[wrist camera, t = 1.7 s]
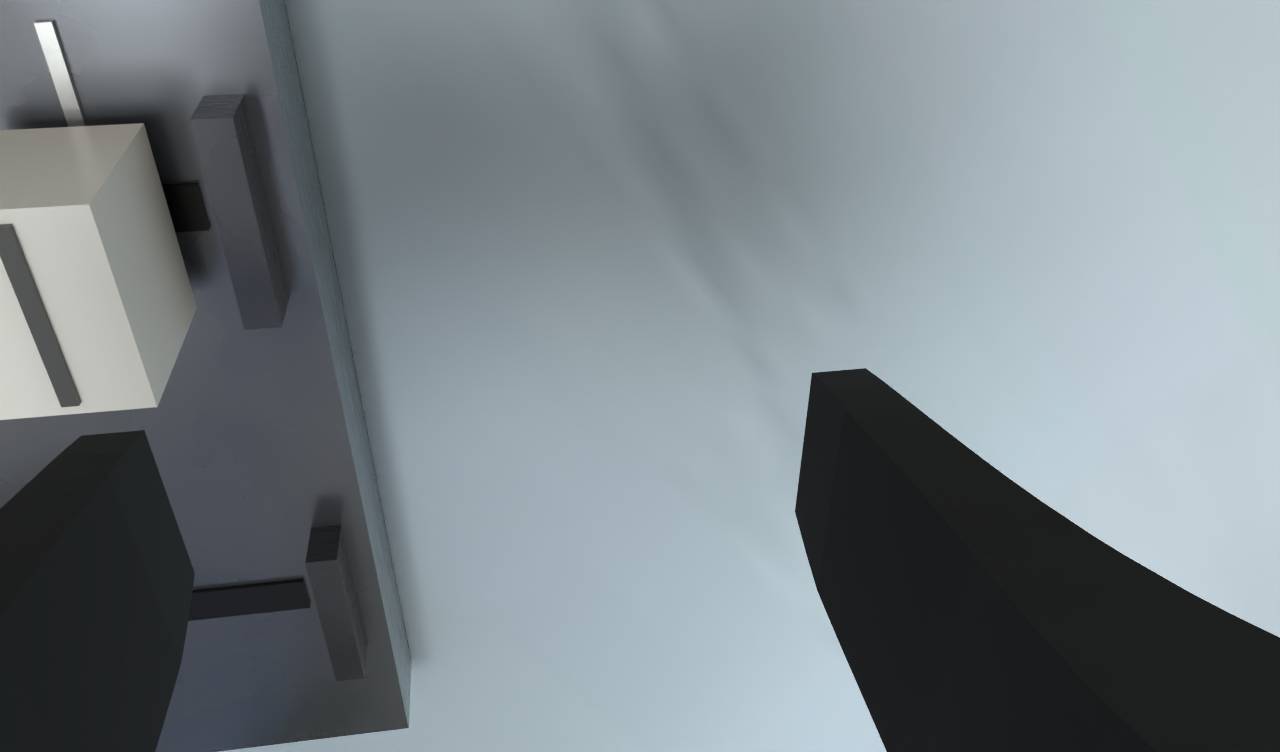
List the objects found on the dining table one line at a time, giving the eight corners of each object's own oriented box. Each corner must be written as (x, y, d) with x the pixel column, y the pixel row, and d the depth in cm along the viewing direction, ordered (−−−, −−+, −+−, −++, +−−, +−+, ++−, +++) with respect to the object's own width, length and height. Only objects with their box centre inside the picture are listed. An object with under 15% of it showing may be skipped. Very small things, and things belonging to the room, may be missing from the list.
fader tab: (197, 307, 17) (155, 411, 15) (57, 317, 17) (-8, 424, 14) (143, 123, 15) (86, 208, 13) (-14, 130, 15) (-102, 219, 12)
